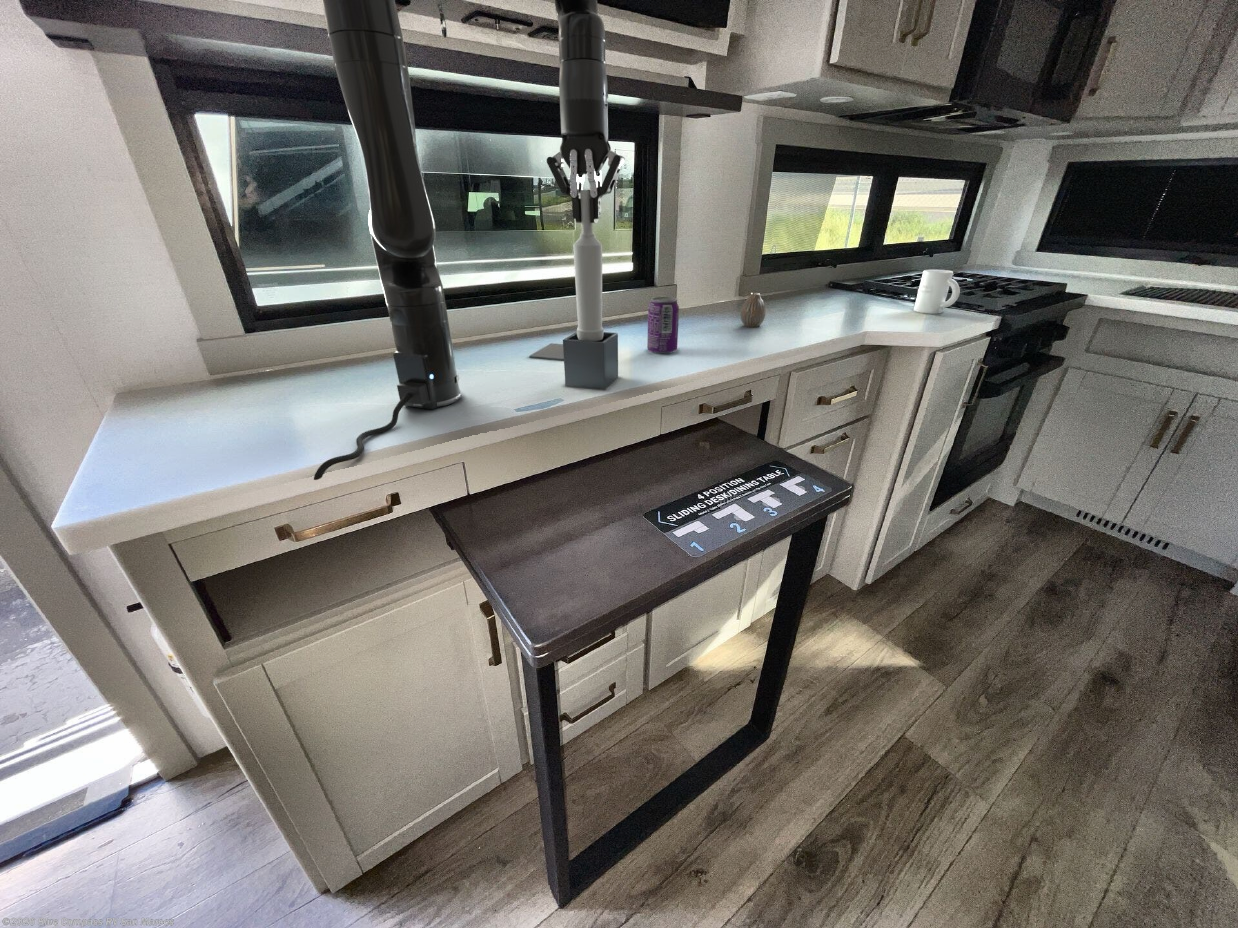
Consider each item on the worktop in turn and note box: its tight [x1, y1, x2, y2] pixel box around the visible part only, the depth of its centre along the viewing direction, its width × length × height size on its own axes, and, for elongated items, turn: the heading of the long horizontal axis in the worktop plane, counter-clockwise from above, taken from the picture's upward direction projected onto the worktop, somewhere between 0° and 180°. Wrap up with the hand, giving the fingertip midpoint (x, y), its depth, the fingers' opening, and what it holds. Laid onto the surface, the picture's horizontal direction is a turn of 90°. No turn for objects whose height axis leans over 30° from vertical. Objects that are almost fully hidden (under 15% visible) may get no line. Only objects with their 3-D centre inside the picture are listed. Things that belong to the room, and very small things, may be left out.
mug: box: [913, 269, 961, 315], centre depth 156 cm, size 8×12×12 cm
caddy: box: [562, 331, 619, 391], centre depth 99 cm, size 8×8×9 cm
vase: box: [740, 292, 767, 328], centre depth 142 cm, size 7×7×9 cm
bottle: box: [572, 189, 605, 341], centre depth 91 cm, size 5×5×25 cm
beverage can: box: [646, 296, 680, 355], centre depth 118 cm, size 7×7×12 cm
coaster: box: [528, 343, 564, 362], centre depth 120 cm, size 12×12×1 cm
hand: (587, 222), depth 87 cm, fingers closed on bottle, 2 cm apart
